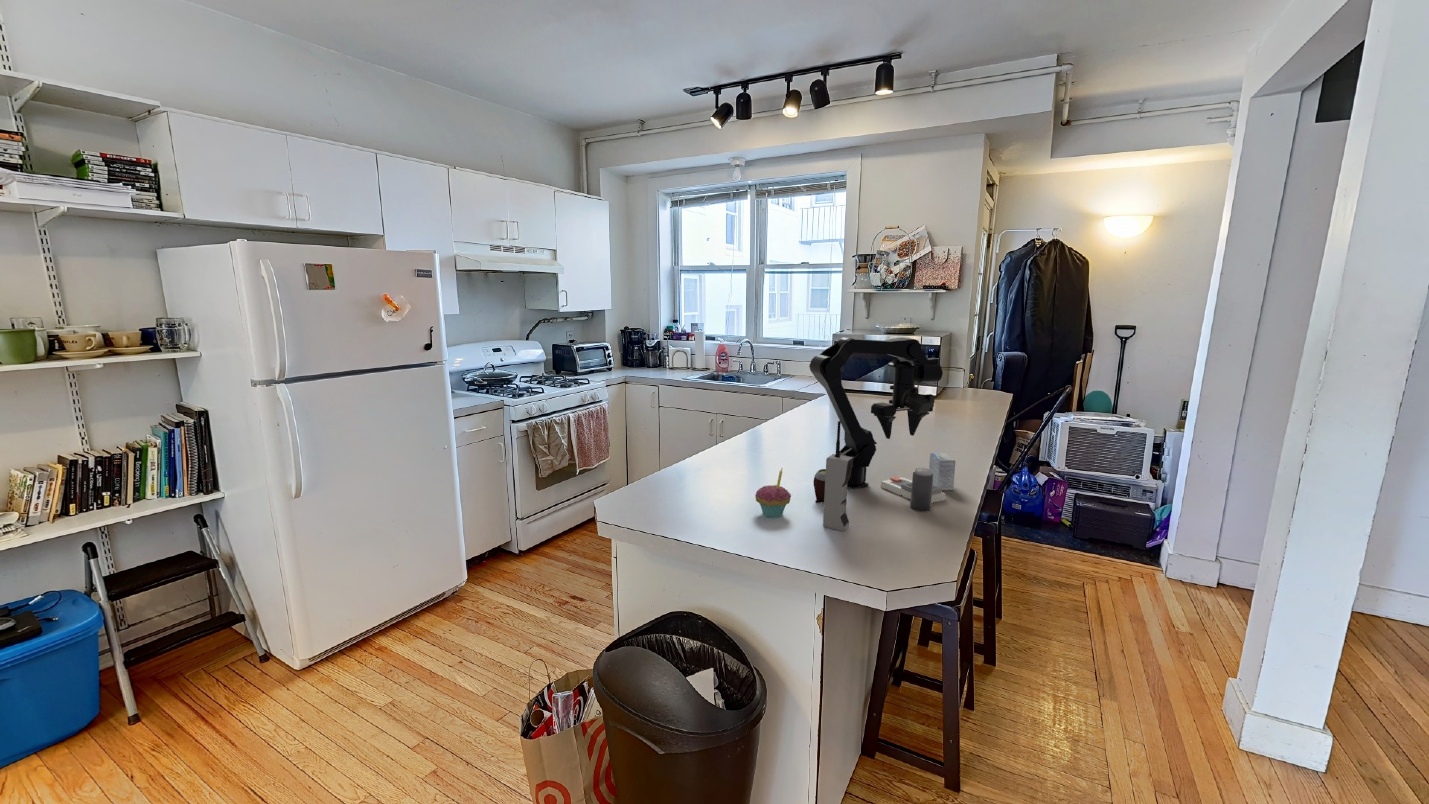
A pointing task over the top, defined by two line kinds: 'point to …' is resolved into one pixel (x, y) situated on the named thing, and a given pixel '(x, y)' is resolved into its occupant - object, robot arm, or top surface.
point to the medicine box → (942, 470)
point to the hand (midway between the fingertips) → (900, 437)
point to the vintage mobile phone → (836, 488)
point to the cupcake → (773, 499)
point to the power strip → (909, 488)
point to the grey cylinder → (921, 490)
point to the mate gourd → (821, 483)
